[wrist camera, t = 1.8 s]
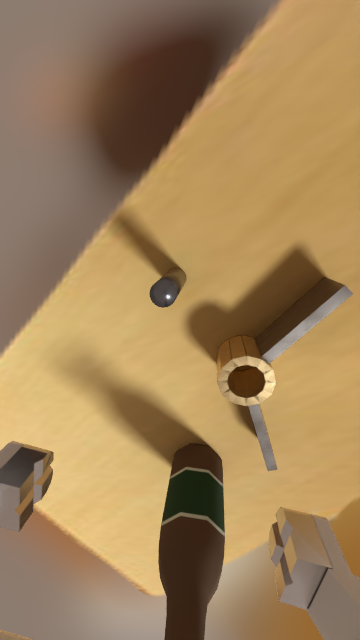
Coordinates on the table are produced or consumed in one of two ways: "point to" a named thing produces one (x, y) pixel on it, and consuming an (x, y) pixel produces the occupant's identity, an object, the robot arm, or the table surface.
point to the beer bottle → (192, 540)
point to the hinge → (271, 354)
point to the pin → (168, 288)
